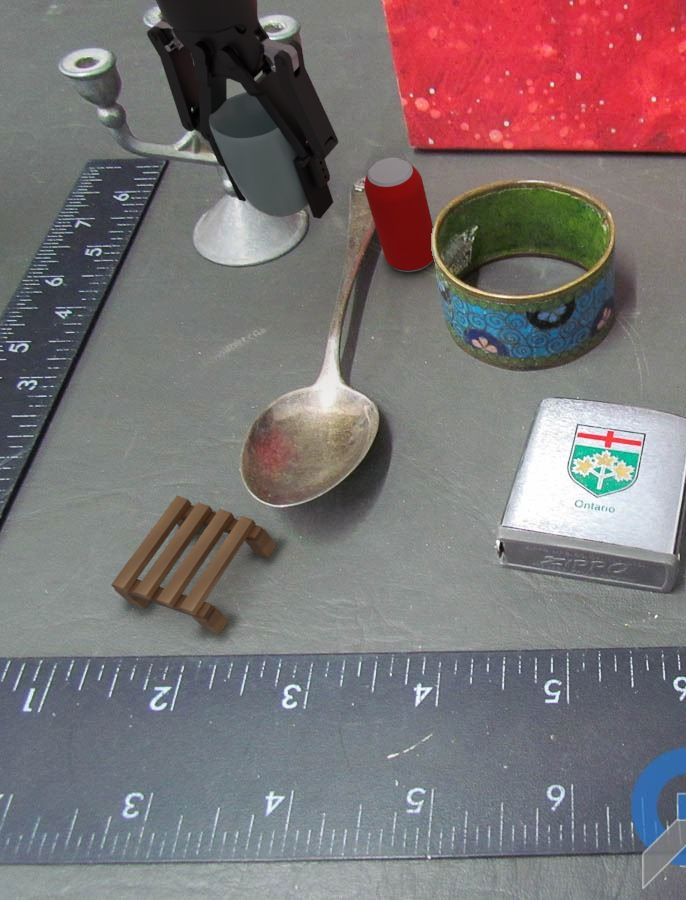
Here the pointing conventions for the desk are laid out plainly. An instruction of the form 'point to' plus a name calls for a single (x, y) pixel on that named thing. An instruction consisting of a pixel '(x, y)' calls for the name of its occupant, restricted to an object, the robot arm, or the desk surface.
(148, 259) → the desk surface
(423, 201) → the beverage can
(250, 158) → the cup
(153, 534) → the rack
